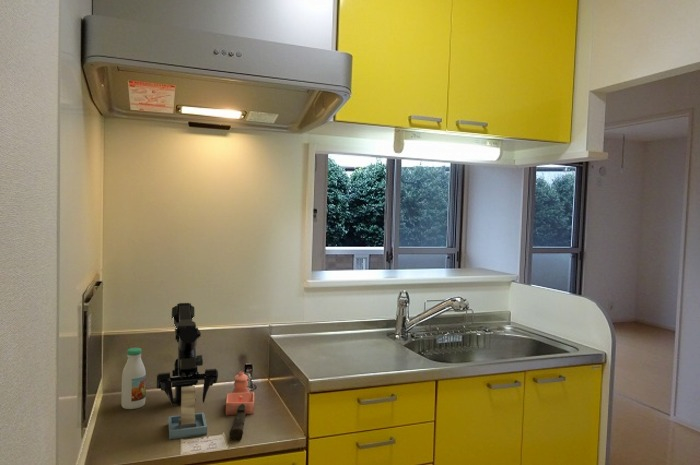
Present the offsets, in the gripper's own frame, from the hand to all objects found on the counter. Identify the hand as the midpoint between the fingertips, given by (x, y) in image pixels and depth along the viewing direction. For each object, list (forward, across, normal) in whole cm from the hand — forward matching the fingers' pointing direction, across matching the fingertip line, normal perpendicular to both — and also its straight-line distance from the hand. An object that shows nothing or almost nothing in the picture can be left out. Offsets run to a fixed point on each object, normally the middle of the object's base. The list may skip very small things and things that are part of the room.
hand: (188, 403), depth 151 cm
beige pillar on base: (+5, 0, +7) cm, 8 cm away
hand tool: (+8, +15, +6) cm, 18 cm away
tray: (+5, 0, +7) cm, 9 cm away
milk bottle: (-12, -17, +24) cm, 32 cm away
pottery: (-5, +19, +18) cm, 27 cm away
